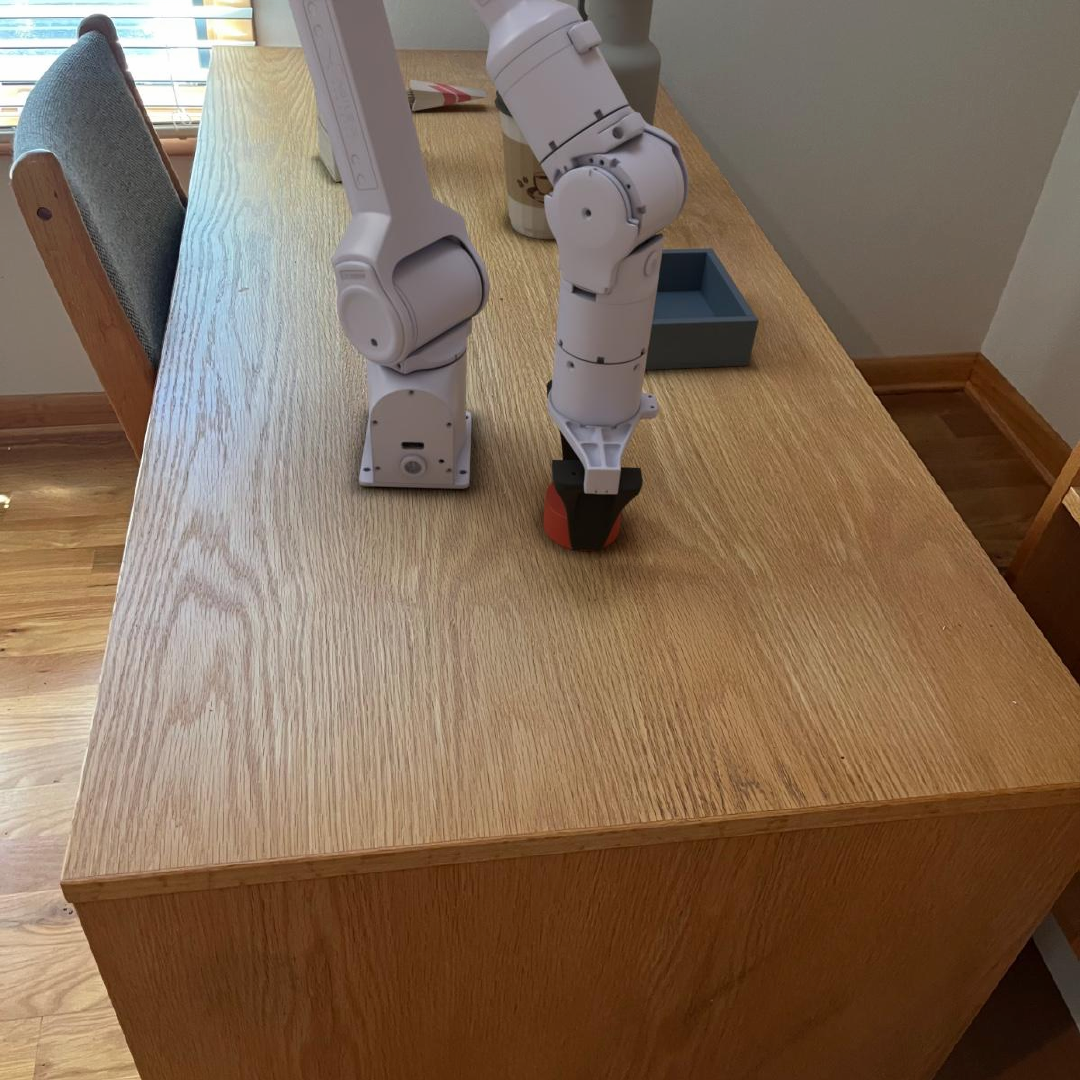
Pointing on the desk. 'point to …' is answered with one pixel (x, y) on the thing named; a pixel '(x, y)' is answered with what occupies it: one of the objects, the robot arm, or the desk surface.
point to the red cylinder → (564, 520)
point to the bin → (698, 314)
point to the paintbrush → (439, 94)
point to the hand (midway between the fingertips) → (583, 510)
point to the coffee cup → (523, 180)
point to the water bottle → (628, 49)
